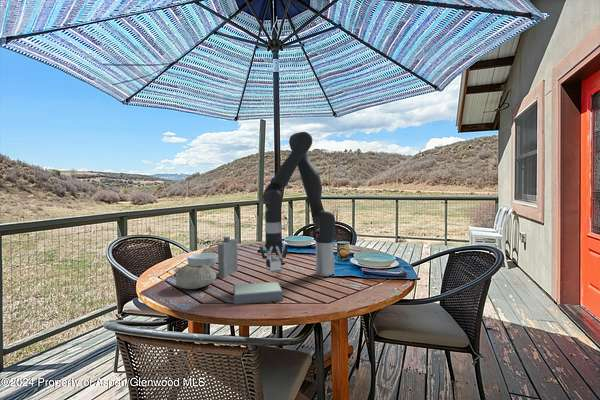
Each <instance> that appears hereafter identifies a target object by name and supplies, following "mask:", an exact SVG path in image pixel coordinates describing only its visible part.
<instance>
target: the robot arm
mask: <svg viewBox="0 0 600 400" xmlns="http://www.w3.org/2000/svg"><path fill="white" fill-rule="evenodd" d="M288 144H289V147H290V151H291V152H290V154H289V156H288V157H287V158H286V159H285V160H284V161H283V163H282V164H281V165H280V166H279V168H278V169H277V171H276V174H275V175H274V177H273V179H272V180H271V182H270V183H269V184H268V185H267V187H266V188H265V189H264V191H263V193H262V201H263V202H264V203H265V204H268V209H267V210H266V211H265V215H264V216H265V217H264V218H265V228H264V229H265V230H264V231H265V243H264V245H259V250H260V255H261V257H262V259H263V260H265V263H266V264H265V266H266V265H267V266H268V267H267V268H269V257H270V256H271V255H272V254H275V253H277V256H278V257H279V259H280V260H281V266H282V265H283V259H284V258H286V257H287V255H288V249H289V245H288V243H283V242H282V224H281V223H282V222H281V210H282V205H283V195H282V192H281V190H283V189H285V188H286V187H287V185H288V184H289V182H290V180H291V179H292V176H293V174H294V172H295V171H296V169H298V171H299V175H300V178H301V179H300V180H301V182H302V185H303V188H304V191H305V195H306V198H307V202H308V204H309V209H310V214H311V219H312V223H313V225H314V226H315V227H316V228H319V233H318V235H316V236H315V275H316V276H320V277H330V276H329V275H331V276H333V275H332V274H334V275H335V256H334V239H335V234H336V218H335V215H334V213H332V212H330V211H325V209H324V205H323V203H322V201H323V200H322V192H323V184H322V180H321V177H320V176H321V175H320V174H319V172H318V170H317V169H316V167H315V166H314V164H313V163H312V162H311V160H310V158H309V156H308V155H309V154H308V153H307V152H308V151H309V150H310V148H311V147H312V145H313V137H312V134H311V133H309V132H308V131H298V132H295V133H293V134H292V135H290V136H289V140H288ZM265 248H266V250H267V252H266V255H265V252H264V251H265ZM282 248H283V252H281V249H282Z"/></svg>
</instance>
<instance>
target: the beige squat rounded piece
mask: <svg viewBox="0 0 600 400" xmlns="http://www.w3.org/2000/svg"><path fill="white" fill-rule="evenodd" d="M216 279H217V274H216V272H215V270H214V269H213V267H212V266H211V267H208V266H205V265H196V266H195V265H187V266H184V267H182V268H181V269H179V270H178V272H177V274H176V276H175V281H176V284H177V286H178V287H179V288H181V289H182V288H183V289H185V290H197V289H201V288H203V287H207V286H209V285H211V284H213V283H214V281H216Z"/></svg>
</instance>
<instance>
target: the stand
mask: <svg viewBox="0 0 600 400" xmlns="http://www.w3.org/2000/svg"><path fill="white" fill-rule="evenodd" d="M277 301H280V302H281V301H284V291H283V288H282V286H281V285H280V283H279V281H270V282H257V283H241V284H234V285H233V305H240V304H241V305H243V304H253V303H254V304H255V303H265V302H266V303H268V302H277Z"/></svg>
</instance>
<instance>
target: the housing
mask: <svg viewBox="0 0 600 400" xmlns="http://www.w3.org/2000/svg"><path fill="white" fill-rule="evenodd" d="M265 268H268V270H267V272H268V273H269V274H271V273H281V272H285V271H284V268H282V265H281V260H280V259H279V255H278V254H270V257H269V267H268V266H267V265H266V264H265Z"/></svg>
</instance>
